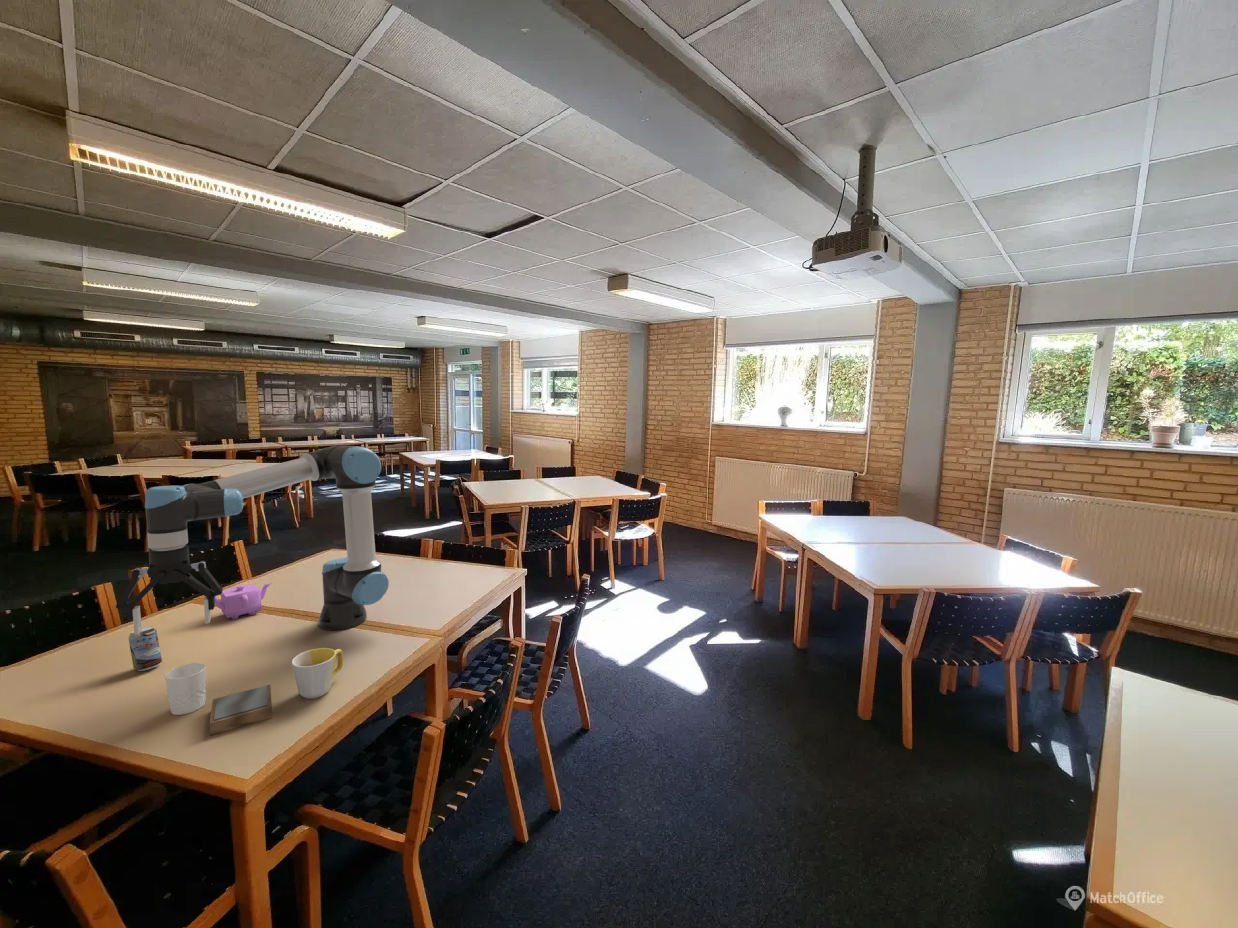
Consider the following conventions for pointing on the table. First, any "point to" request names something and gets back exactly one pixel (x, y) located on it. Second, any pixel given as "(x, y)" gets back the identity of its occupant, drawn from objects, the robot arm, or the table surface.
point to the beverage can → (145, 649)
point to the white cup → (186, 688)
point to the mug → (316, 671)
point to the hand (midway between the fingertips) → (174, 627)
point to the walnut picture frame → (240, 709)
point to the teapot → (241, 600)
